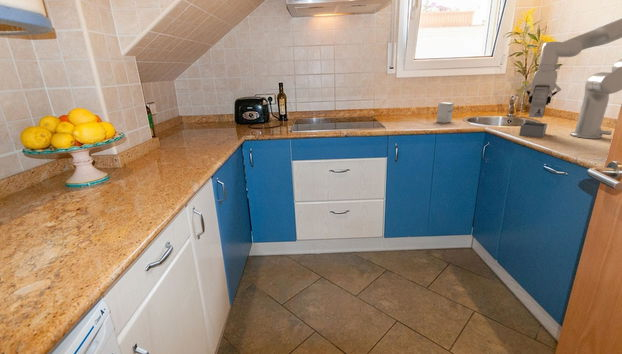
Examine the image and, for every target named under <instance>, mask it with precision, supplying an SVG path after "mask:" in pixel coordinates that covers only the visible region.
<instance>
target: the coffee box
mask: <svg viewBox="0 0 622 354" xmlns="http://www.w3.org/2000/svg"><path fill="white" fill-rule="evenodd" d="M549 89H550V86H543V85H536V86H535V88H534V93H533V98H532V102H531V104H530V107H529V112H528V118H539V119H542V118H544V115H545V111H546V107H547V105H546V102H547V98H548V96H549Z"/></svg>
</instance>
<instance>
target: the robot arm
mask: <svg viewBox="0 0 622 354" xmlns="http://www.w3.org/2000/svg"><path fill="white" fill-rule="evenodd" d="M620 39H622V18H620V19H617V20H615V21H613V22H612V21H611V22H609V23H607V24H604V25H602V26H599V27H597V28H594V29H591V30H590V31H587V32H584V33H582V34H579V35H577V36H574V37H572V38H569V39H567V40H564V41H546V42H544V43H543V45H542V48H541V52H540V57H539V62H538V67H537V70H536V71H534V74H533V76H532V81H531V83H530V84H528V85H527V86H525V87H523V90H524V91H525V92H526V94H527V95H528V96H529V97H528V101H527V102H528V103H529V105H531V102H532V98H533V93H534V88H535V86H536V85H543V86H550V89H549V94H548V98H547V102H546V106H548V105H549V104H551V100H552V98H553V97H554V95H556V94H558V93H559V92H561V91H562V88H561V87H560V86H559V85H558V84H557V81H558V80H557V79H558V70H557V69H560V68H561V65H558V62H559V58H573V57H576V56H578V55H579V54H581V52H582V51H584V50H587V49H590V48H595V47H598V46H603V45H606V44H607V45H608V44H610V43H612V42H615V41H618V40H620ZM555 89H556V90H555ZM554 90H555V91H554ZM553 91H554V92H553ZM621 91H622V58H621V59H619V60H617V61H616V62H615V63H614V64H613V65H612V67H611V72H606V71H605V72H602V71H601V72H596V73H594V74H592V75H590V76H589V77H588V79H587V80H586V81H585V86H584V96H583V100H582V104H581V107H580V110H579V111H580V112H579V115H578V119H577V122H576V125H575V129H574V131H572V132H570V136H572V137H575V138H576V137H577V138H582V139H591V140H592V139H593V140H594V139H595V140H596V139H602V137H603V135H606V136H611V135H612V133H613V132H612V131H611V130H604V129H602V128H601V127H602V124H603V122H604V121H603V120H604V117H605V114H606V110H607V107H608V105H609V101H610V100H609V99H610V95H612V94H615V93H618V92H621Z"/></svg>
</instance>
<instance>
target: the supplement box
mask: <svg viewBox="0 0 622 354" xmlns="http://www.w3.org/2000/svg"><path fill="white" fill-rule="evenodd" d="M454 105H455V103H454V102H447V101H446V102H445V101H443V102H438V105H437V106H438V107H437V113H436V120H435V122H437V123H442V124H443V123H444V124H446V123H451V122H452V121H453V120H452V119H453V110H454Z"/></svg>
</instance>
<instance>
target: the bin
mask: <svg viewBox="0 0 622 354" xmlns="http://www.w3.org/2000/svg"><path fill="white" fill-rule="evenodd" d="M547 126H548V123H545V122H544V123H543V122H542V123H541V122H533V121H532V122H531V121H524V122H523V123H522V124H521V125H520V129H519V133H518V136H522V137H533V138H543V137H544V135H545V134H546V131H547V128H548V127H547Z"/></svg>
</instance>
